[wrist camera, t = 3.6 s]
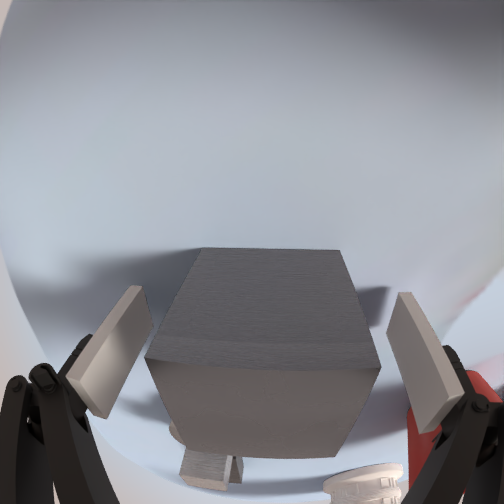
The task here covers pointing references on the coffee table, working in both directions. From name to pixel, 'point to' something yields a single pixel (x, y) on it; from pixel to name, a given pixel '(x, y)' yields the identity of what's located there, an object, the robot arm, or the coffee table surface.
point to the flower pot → (436, 430)
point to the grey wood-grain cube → (265, 354)
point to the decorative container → (366, 485)
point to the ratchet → (208, 467)
